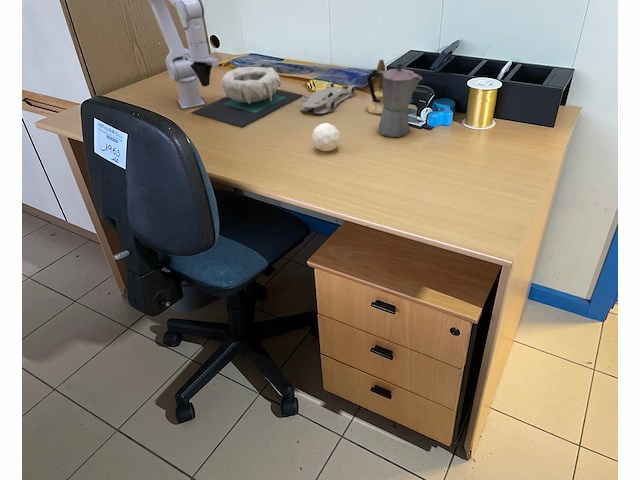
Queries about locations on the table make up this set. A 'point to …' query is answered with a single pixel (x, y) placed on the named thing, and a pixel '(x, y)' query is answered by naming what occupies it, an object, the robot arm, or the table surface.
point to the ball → (325, 137)
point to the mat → (245, 108)
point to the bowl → (251, 84)
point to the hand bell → (378, 93)
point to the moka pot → (394, 99)
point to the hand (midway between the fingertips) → (205, 85)
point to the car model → (326, 99)
